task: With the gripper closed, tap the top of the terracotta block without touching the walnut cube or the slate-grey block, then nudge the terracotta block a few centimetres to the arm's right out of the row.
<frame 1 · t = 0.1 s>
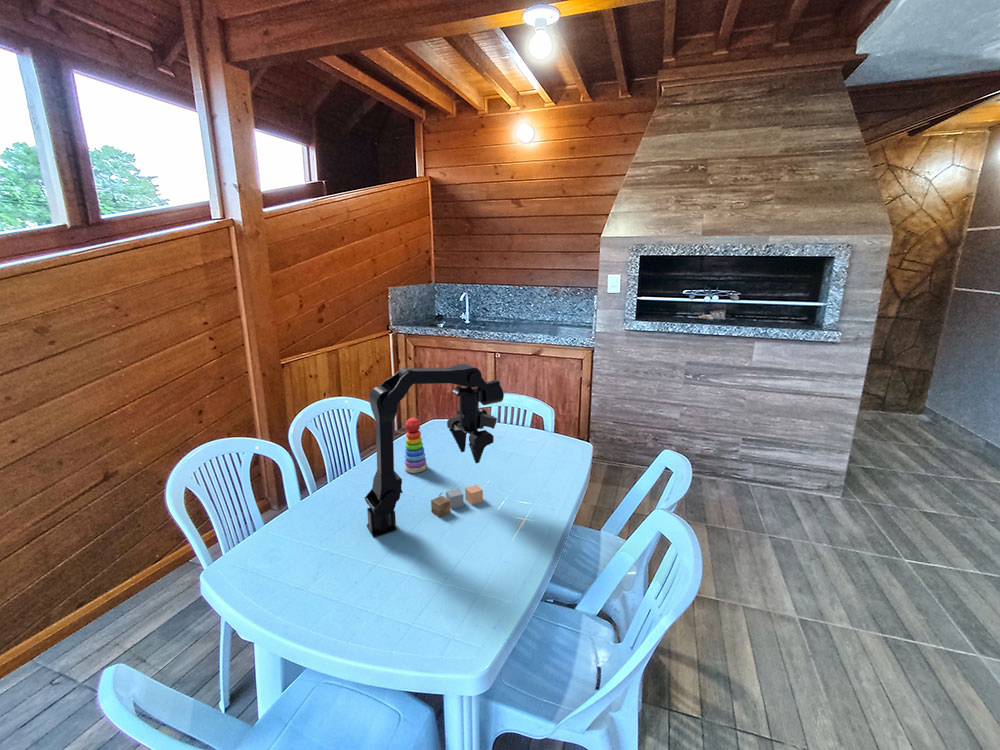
hand: (469, 457, 142), 14 cm above the table, fingers open, 9 cm apart
slate block: (455, 504, 143), on the table
stacking toy: (416, 469, 167), on the table
walnut cube: (441, 512, 139), on the table
terracotta block: (474, 500, 146), on the table
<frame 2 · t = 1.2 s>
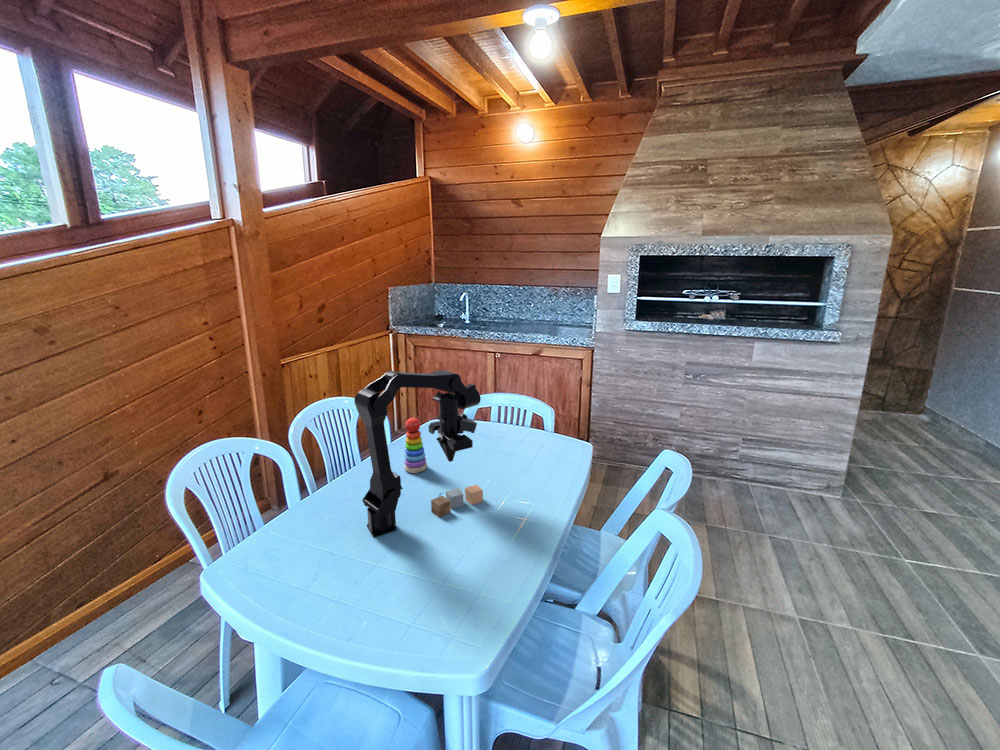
hand: (450, 461, 145), 12 cm above the table, fingers closed
nothing on the table moved.
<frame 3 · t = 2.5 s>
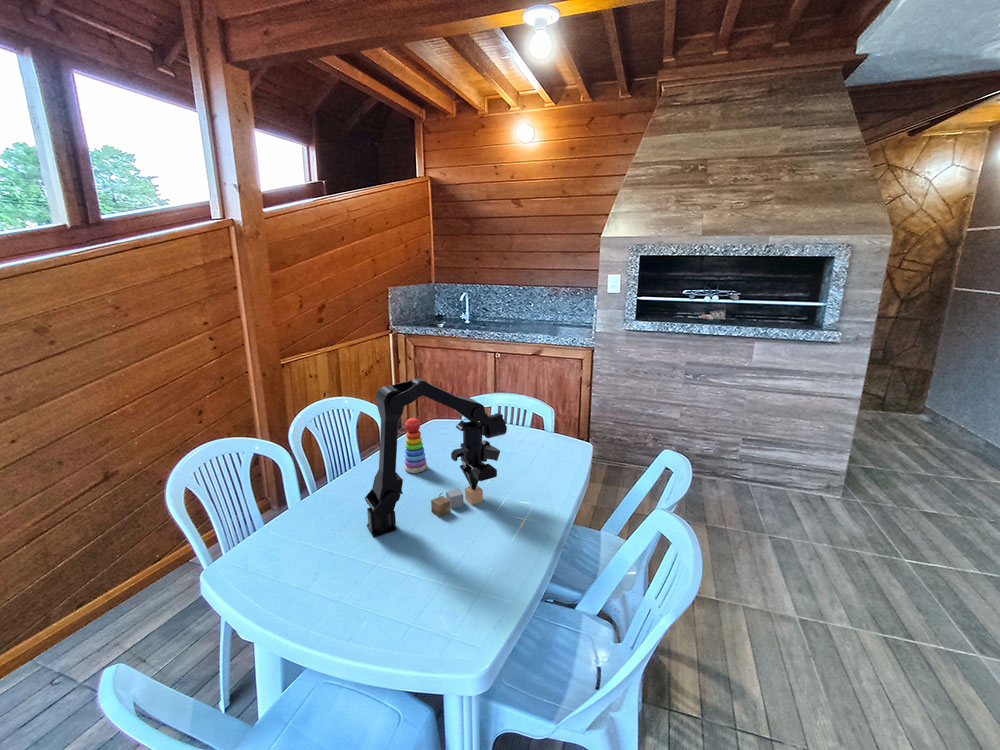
hand: (473, 488, 145), 4 cm above the table, fingers closed, pressing on terracotta block
terracotta block: (474, 500, 146), on the table, touching gripper
everything else where it was.
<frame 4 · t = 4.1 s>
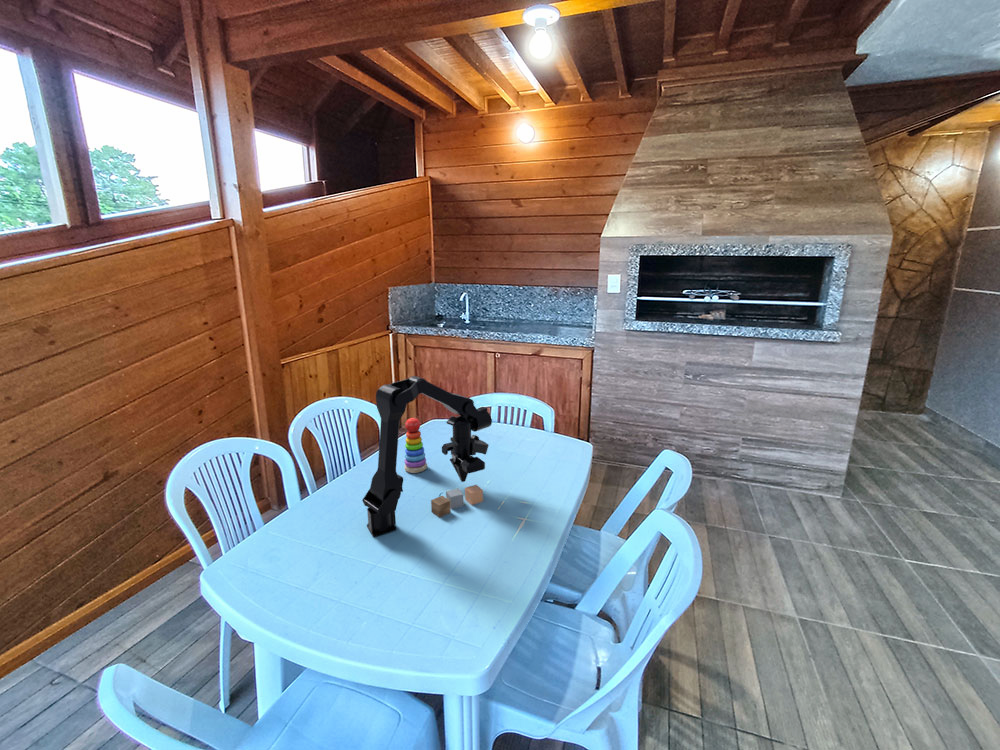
hand: (463, 481, 151), 3 cm above the table, fingers closed
terracotta block: (474, 500, 146), on the table
everything else where it was.
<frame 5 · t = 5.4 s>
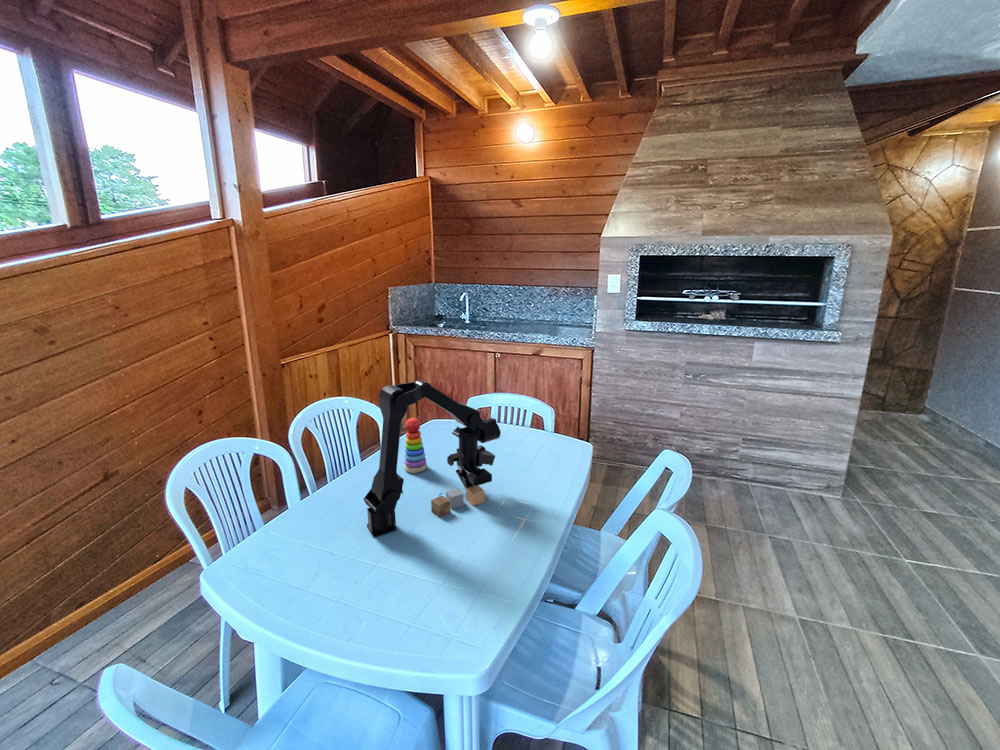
hand: (469, 492, 148), 1 cm above the table, fingers closed
terracotta block: (475, 501, 145), on the table, touching gripper
everything else where it was.
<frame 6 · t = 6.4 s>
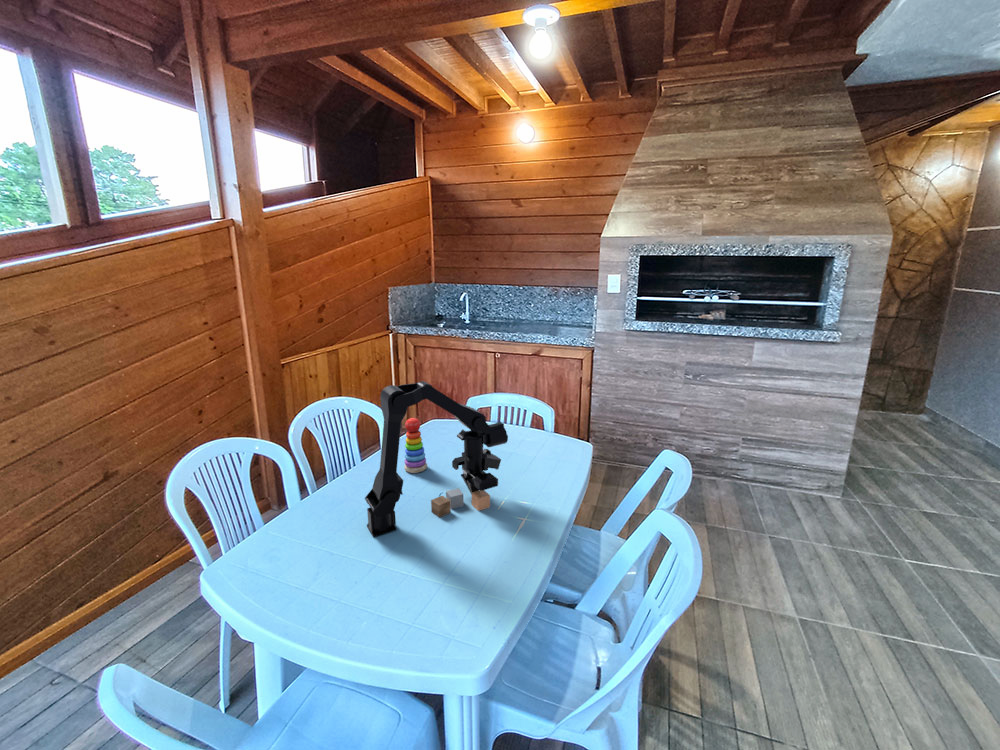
hand: (474, 497, 145), 1 cm above the table, fingers closed
terracotta block: (480, 505, 142), on the table, touching gripper
everything else where it was.
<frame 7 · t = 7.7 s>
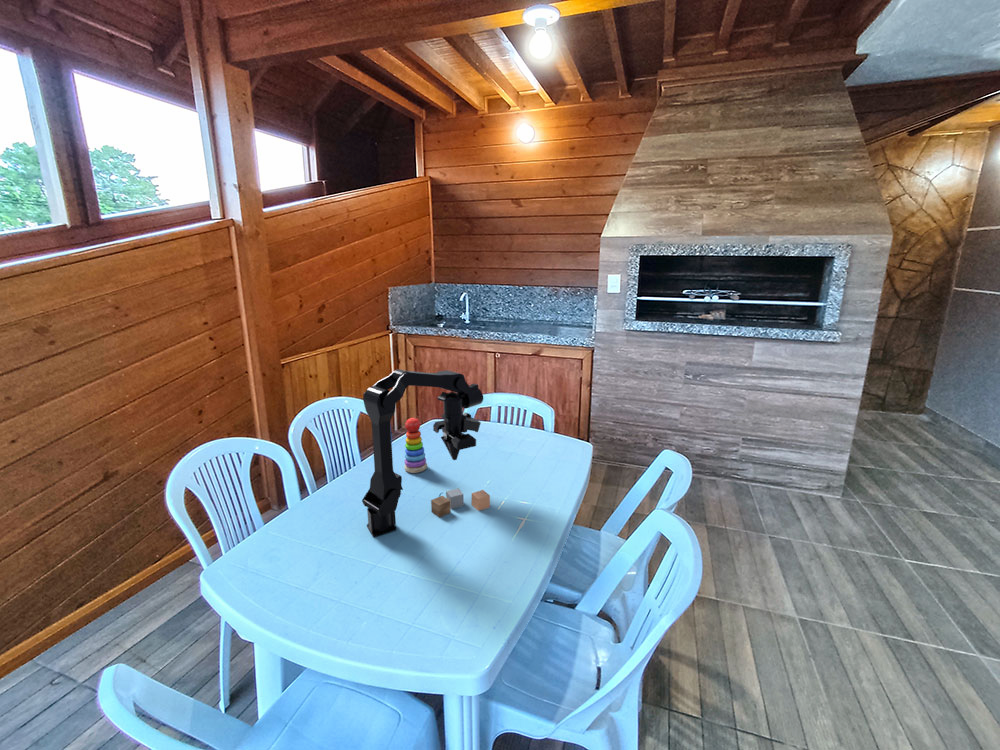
hand: (454, 459, 148), 11 cm above the table, fingers closed
terracotta block: (480, 506, 142), on the table
everything else where it was.
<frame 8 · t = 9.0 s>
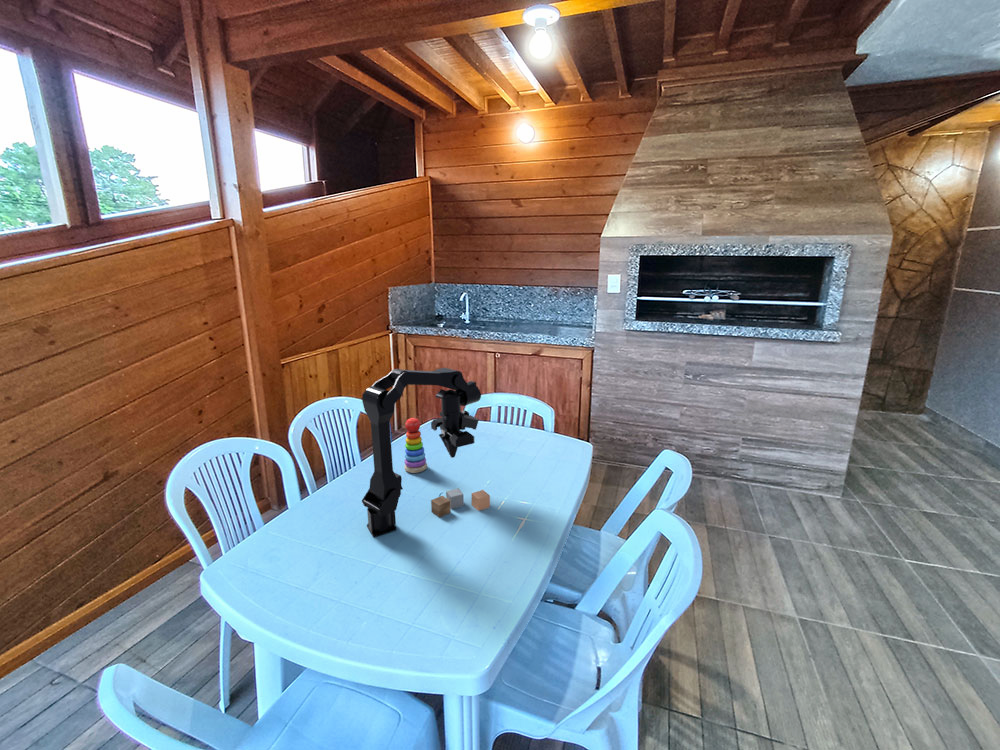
hand: (452, 457, 148), 12 cm above the table, fingers closed
nothing on the table moved.
at the end: terracotta block inside the target area (1.3 cm from its centre), on the table; slate block moved 0.1 cm from its start; walnut cube moved 0.1 cm from its start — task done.
